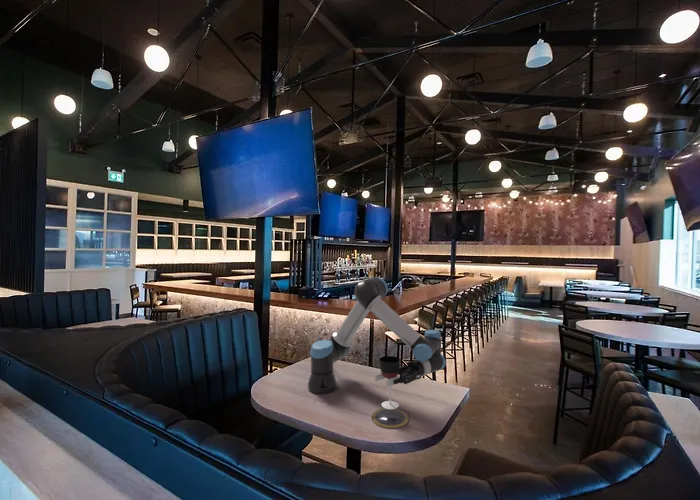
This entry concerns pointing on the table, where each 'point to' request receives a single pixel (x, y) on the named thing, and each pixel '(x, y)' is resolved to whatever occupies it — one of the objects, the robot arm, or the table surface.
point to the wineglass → (389, 376)
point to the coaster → (390, 418)
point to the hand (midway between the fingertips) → (381, 380)
